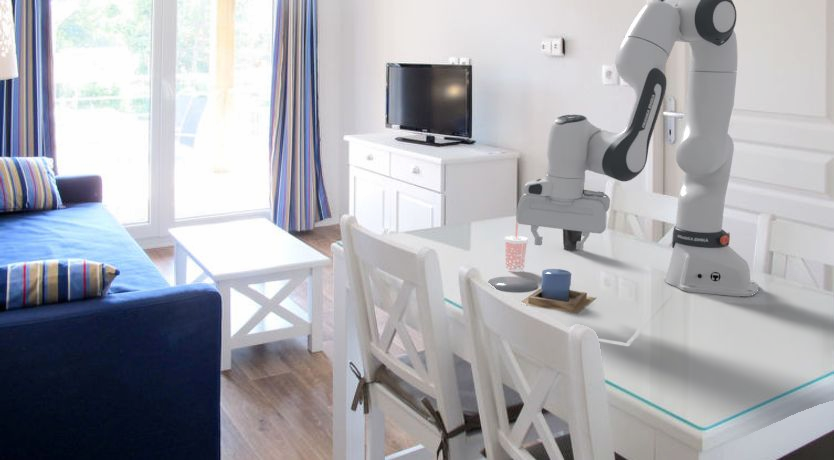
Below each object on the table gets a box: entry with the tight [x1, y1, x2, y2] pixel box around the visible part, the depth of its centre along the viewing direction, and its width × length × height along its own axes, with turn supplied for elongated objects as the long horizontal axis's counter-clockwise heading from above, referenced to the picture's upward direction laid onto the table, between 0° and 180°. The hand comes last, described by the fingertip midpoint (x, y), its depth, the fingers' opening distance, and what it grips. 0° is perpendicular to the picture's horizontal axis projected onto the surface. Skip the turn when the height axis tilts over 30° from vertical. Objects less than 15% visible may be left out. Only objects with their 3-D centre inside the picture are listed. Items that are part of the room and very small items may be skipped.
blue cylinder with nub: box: [540, 268, 572, 302], centre depth 206 cm, size 10×6×6 cm
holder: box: [520, 288, 597, 315], centre depth 205 cm, size 14×14×2 cm
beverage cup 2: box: [562, 229, 583, 252], centre depth 255 cm, size 7×7×20 cm
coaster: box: [487, 276, 538, 293], centre depth 217 cm, size 12×12×1 cm
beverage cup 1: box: [504, 219, 529, 273], centre depth 230 cm, size 6×6×14 cm
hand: (558, 247), depth 202 cm, fingers open, 8 cm apart
